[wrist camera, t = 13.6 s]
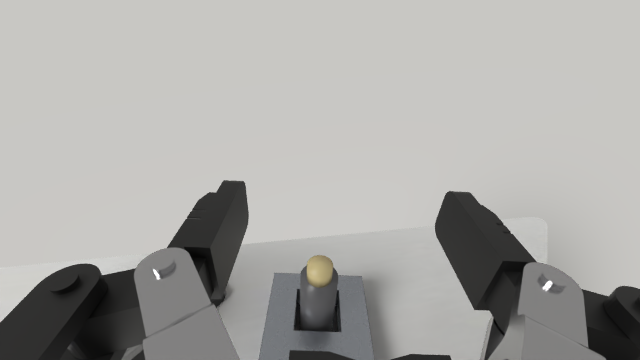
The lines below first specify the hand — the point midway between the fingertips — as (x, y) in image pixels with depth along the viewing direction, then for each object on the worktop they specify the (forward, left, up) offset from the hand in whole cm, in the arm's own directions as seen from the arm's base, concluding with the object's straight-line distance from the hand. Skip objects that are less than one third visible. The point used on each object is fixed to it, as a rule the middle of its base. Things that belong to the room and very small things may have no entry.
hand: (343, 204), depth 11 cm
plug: (0, +12, -30) cm, 32 cm away
